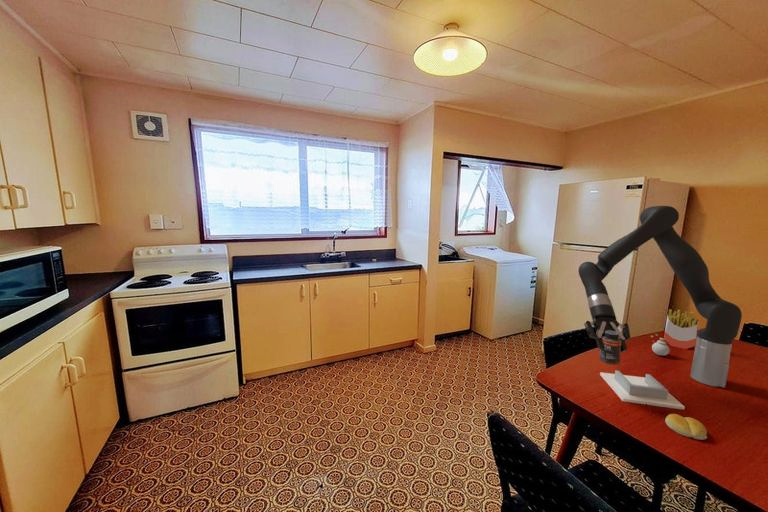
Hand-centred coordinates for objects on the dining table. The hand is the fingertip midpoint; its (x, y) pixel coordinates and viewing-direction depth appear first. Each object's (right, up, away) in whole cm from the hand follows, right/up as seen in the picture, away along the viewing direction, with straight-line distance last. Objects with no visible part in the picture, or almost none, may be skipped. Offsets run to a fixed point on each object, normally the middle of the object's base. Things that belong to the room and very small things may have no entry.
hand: (613, 350), depth 106 cm
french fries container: (+65, -12, +42) cm, 79 cm away
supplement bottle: (0, -5, +2) cm, 6 cm away
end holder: (+13, -17, +5) cm, 22 cm away
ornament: (+47, -13, +34) cm, 59 cm away
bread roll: (+11, -20, -15) cm, 27 cm away
